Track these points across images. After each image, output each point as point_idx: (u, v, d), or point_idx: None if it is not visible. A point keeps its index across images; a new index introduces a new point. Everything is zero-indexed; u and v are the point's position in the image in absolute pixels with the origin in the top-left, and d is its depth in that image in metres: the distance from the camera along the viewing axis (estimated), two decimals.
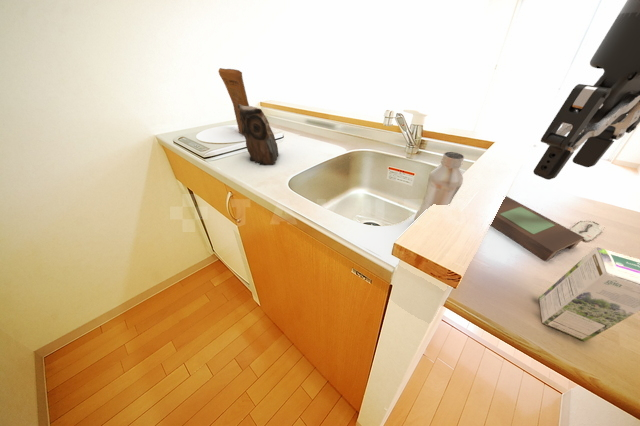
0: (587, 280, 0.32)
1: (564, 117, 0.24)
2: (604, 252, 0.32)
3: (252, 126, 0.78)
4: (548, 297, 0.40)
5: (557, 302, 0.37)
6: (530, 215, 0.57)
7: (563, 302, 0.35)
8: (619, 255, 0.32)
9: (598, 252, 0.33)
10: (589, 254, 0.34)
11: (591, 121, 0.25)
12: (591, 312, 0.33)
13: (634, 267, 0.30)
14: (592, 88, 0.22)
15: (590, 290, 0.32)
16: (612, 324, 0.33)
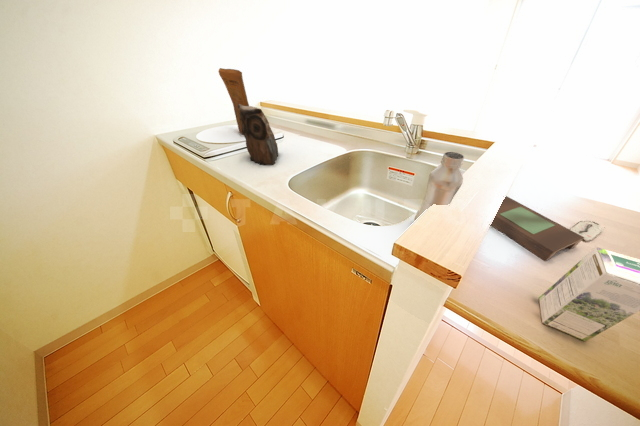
0: (587, 280, 0.32)
1: None
2: (604, 252, 0.32)
3: (252, 126, 0.78)
4: (548, 297, 0.40)
5: (557, 302, 0.37)
6: (530, 215, 0.57)
7: (563, 302, 0.35)
8: (619, 255, 0.32)
9: (598, 252, 0.33)
10: (589, 254, 0.34)
11: None
12: (591, 312, 0.33)
13: (634, 267, 0.30)
14: None
15: (590, 290, 0.32)
16: (612, 324, 0.33)
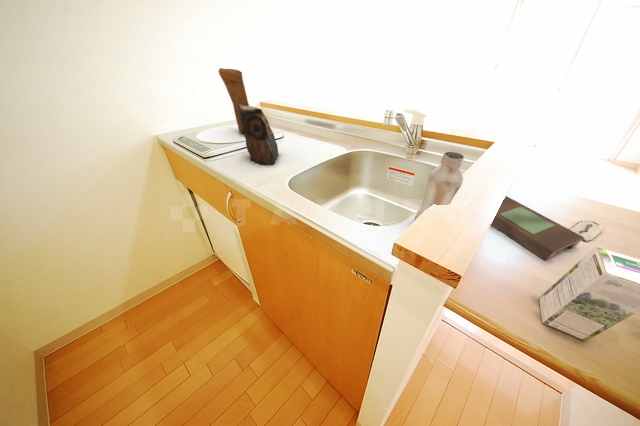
0: (587, 280, 0.32)
1: None
2: (604, 252, 0.32)
3: (252, 126, 0.78)
4: (548, 297, 0.40)
5: (557, 302, 0.37)
6: (530, 215, 0.57)
7: (563, 302, 0.35)
8: (619, 255, 0.32)
9: (598, 252, 0.33)
10: (589, 254, 0.34)
11: None
12: (591, 312, 0.33)
13: (634, 267, 0.30)
14: None
15: (590, 290, 0.32)
16: (612, 324, 0.33)
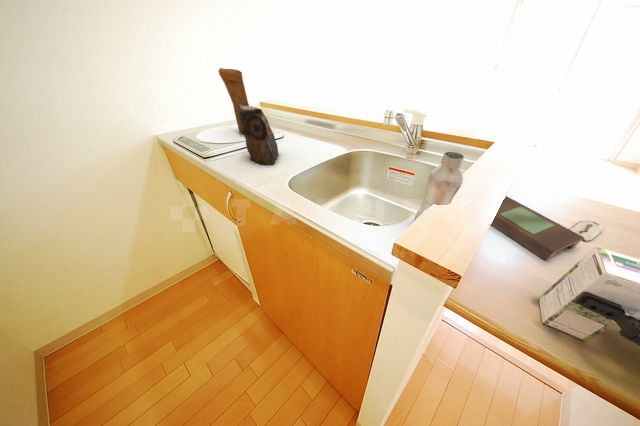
0: (587, 280, 0.32)
1: None
2: (604, 252, 0.32)
3: (252, 126, 0.78)
4: (548, 297, 0.40)
5: (557, 302, 0.37)
6: (530, 215, 0.57)
7: (563, 302, 0.35)
8: (619, 255, 0.32)
9: (598, 252, 0.33)
10: (589, 254, 0.34)
11: None
12: (591, 312, 0.33)
13: (634, 267, 0.30)
14: None
15: (590, 290, 0.32)
16: (611, 324, 0.33)
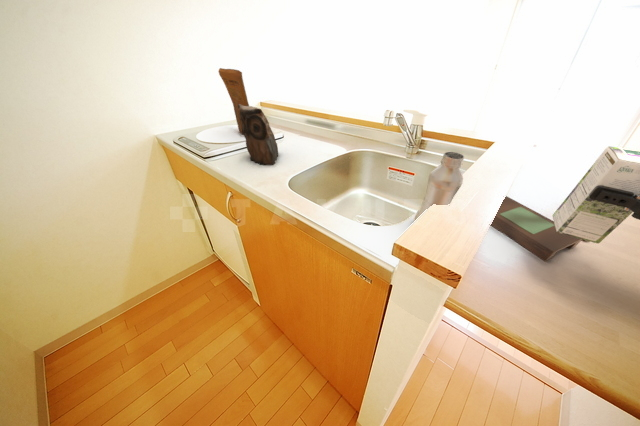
0: (600, 175, 0.35)
1: None
2: (616, 148, 0.34)
3: (252, 126, 0.78)
4: (561, 209, 0.42)
5: (571, 207, 0.39)
6: (530, 215, 0.57)
7: (577, 204, 0.38)
8: (630, 149, 0.34)
9: (610, 149, 0.35)
10: (601, 155, 0.36)
11: None
12: (604, 208, 0.35)
13: None
14: None
15: (603, 182, 0.34)
16: (624, 216, 0.35)
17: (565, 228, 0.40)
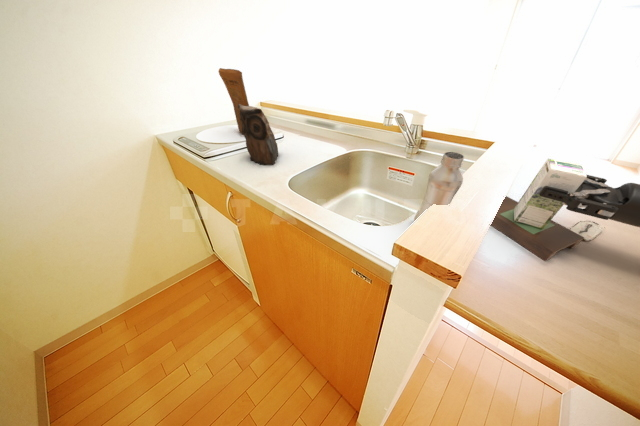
0: (540, 179, 0.48)
1: None
2: (552, 160, 0.48)
3: (252, 126, 0.78)
4: (519, 204, 0.56)
5: (523, 203, 0.53)
6: None
7: (527, 200, 0.52)
8: (561, 161, 0.48)
9: (548, 160, 0.49)
10: None
11: None
12: (544, 203, 0.49)
13: (569, 166, 0.46)
14: None
15: (542, 184, 0.48)
16: (557, 209, 0.49)
17: (519, 218, 0.54)
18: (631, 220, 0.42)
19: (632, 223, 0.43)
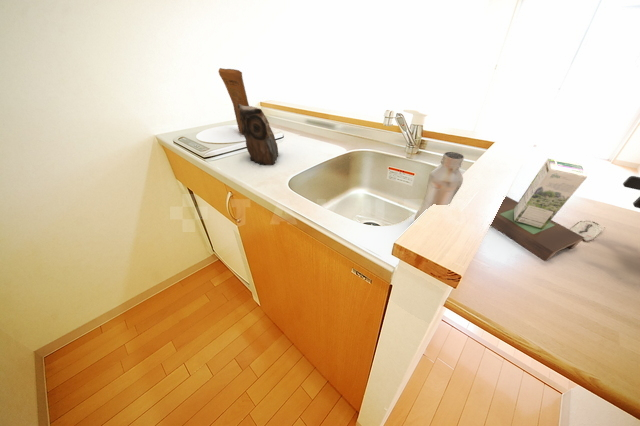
0: (540, 179, 0.48)
1: None
2: (552, 160, 0.48)
3: (252, 126, 0.78)
4: (519, 204, 0.56)
5: (523, 203, 0.53)
6: None
7: (527, 200, 0.52)
8: (561, 161, 0.48)
9: (548, 161, 0.49)
10: (544, 164, 0.50)
11: None
12: (544, 203, 0.49)
13: (569, 166, 0.46)
14: None
15: (542, 184, 0.48)
16: (557, 209, 0.49)
17: (519, 218, 0.54)
18: None
19: None
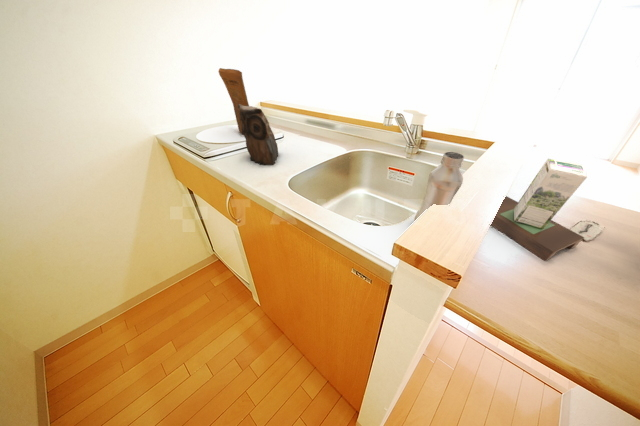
0: (540, 179, 0.48)
1: None
2: (552, 160, 0.48)
3: (252, 126, 0.78)
4: (518, 204, 0.56)
5: (523, 203, 0.53)
6: None
7: (527, 200, 0.52)
8: (561, 161, 0.48)
9: (548, 161, 0.49)
10: None
11: None
12: (544, 203, 0.49)
13: (569, 166, 0.46)
14: None
15: (542, 184, 0.48)
16: (557, 209, 0.49)
17: (519, 218, 0.54)
18: None
19: None
